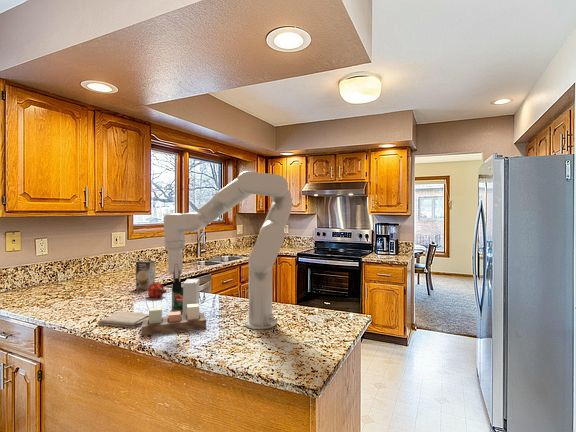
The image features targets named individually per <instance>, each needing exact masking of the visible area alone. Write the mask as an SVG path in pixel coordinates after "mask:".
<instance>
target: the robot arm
mask: <svg viewBox="0 0 576 432" xmlns="http://www.w3.org/2000/svg"><path fill="white" fill-rule="evenodd" d="M251 195H256V196H257V195H258V196H266V197H270V199H271V204H270V207H269V209H268V212H267V214H266V217H265V219H264V222H263V223H262V226H260V229H259V234H258V236H257V238H256V240H255V243H254V246H253V247H252V249H251V250H250V252H249V254H248V258H247V259H248V318H247V319H246V320H245V321H244V326H245V327H246V328H248V329H251V330H252V329H253V330H265V329H266V330H268V329H272V328H274V327H276V325H277V323H278V320H277V318H276V319H275V317H274V315H275V314H274V313H273V266H274V264H275V262H276V260H277V257H278V255H279V253H280V250H281V248H282V246H283V243H284V240H285V235H286V234H285V228H286V226H287V223H288V220H289V219H290V216H291V215H290V214H291V212H292V209H293V198H292V194H291V191H290V190H289V183H288V181H287V179H286V178H285V177H284V176H283V175H280V174H274V173H266V172H265V173H264V172H258V171H251V170H244V171H242V172H240V173H239V174H238V176H237V177H236V178H235V179H234V180H233V181H231V182H230V183H228V184H227V185H226V186H224V187H223V188H220V190H217V192H215V194H214V195H213V197H211V198H210V200H209V201H208V202H206V203H205V204H204V205H203V206H201V207H199V209H197V210H195V211H194V212H187V213H186V212H185V213H167V214H164V216H163V230H164V231H163V233H164V234H163V235H164V251H167V267H168V269H167V270H168V275H169V276H170V277H171V276H172V282H171V283H172V285H173V293H175V292H181V284H182V280H181V275H182V274H183V250H184V249H186V237H185V235H186V233H185V232H189V233H192V232H194V233H196V232H198V231H201V230H203V229H204V228H206V227H207V226H208V225H209V224H212V223H213V222H214V221H215V220H217V219H218V218H219V217H220V216H223V215H224V214H226V213H227V212H229V211H230V210H231V209H233V208H235V207H236V206H237V205H238V204H240V203H241V202H243V201H244V200H245V199H247V198H249V196H251Z"/></svg>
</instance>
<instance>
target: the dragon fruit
mask: <svg viewBox="0 0 576 432" xmlns="http://www.w3.org/2000/svg"><path fill="white" fill-rule="evenodd" d="M146 291H147V294H148V296H149V298H150V297H152V298H154V299H158V298H159V297H162V296H163V295H164V294H166V293H167V289H166V288H165V287H164V285H163V283H161V282H158V281H155V282H153V283H151V285H150V286H149V287H148V289H146Z"/></svg>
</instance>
